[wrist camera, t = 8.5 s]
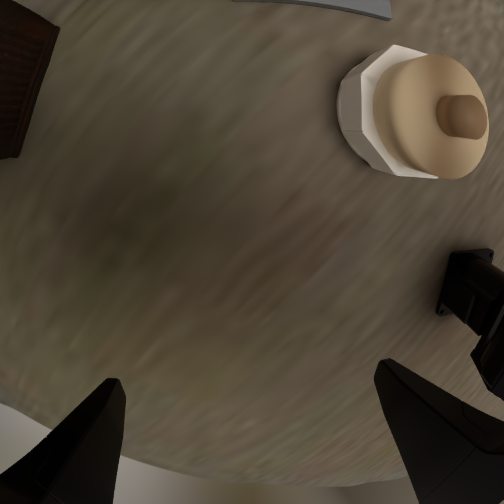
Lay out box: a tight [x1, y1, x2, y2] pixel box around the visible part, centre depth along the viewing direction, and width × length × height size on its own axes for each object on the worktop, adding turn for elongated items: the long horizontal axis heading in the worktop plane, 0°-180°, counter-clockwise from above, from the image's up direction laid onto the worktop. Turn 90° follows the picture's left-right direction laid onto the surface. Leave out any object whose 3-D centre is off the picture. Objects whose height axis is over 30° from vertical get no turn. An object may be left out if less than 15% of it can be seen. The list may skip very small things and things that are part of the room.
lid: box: [373, 54, 489, 179], centre depth 12 cm, size 7×7×5 cm
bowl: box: [336, 45, 438, 179], centre depth 16 cm, size 8×8×4 cm
